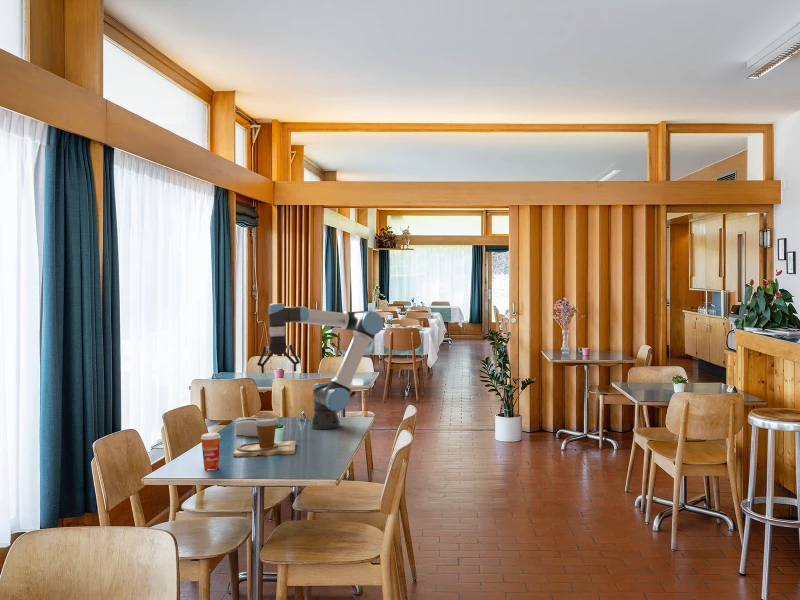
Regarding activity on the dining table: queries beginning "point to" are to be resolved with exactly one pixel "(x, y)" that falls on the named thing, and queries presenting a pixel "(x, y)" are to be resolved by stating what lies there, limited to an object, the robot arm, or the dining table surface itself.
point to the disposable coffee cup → (266, 432)
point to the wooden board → (265, 449)
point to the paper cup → (211, 450)
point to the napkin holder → (246, 427)
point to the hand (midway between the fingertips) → (279, 379)
